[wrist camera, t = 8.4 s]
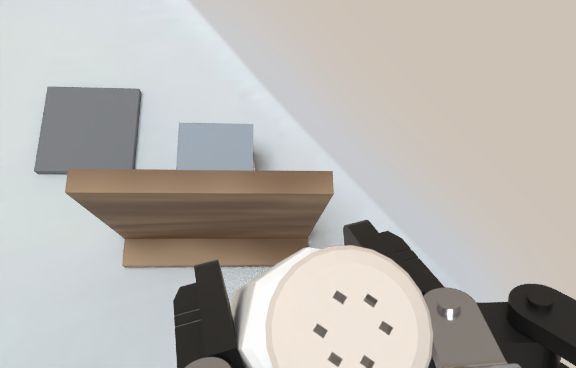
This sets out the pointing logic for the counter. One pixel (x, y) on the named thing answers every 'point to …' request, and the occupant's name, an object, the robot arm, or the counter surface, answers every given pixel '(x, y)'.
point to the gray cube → (215, 147)
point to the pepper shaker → (333, 313)
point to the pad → (88, 129)
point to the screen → (204, 213)
